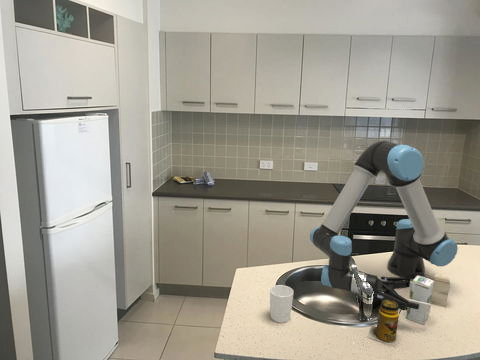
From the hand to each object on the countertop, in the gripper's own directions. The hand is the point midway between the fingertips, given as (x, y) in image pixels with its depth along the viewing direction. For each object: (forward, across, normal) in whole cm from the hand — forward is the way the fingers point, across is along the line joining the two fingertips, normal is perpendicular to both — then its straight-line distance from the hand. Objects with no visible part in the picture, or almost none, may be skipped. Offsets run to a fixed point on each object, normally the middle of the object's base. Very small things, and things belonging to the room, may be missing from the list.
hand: (430, 298), depth 133 cm
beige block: (+4, -15, -8) cm, 18 cm away
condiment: (-13, +16, -9) cm, 22 cm away
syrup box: (-3, 0, -9) cm, 9 cm away
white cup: (-46, +21, -9) cm, 51 cm away
